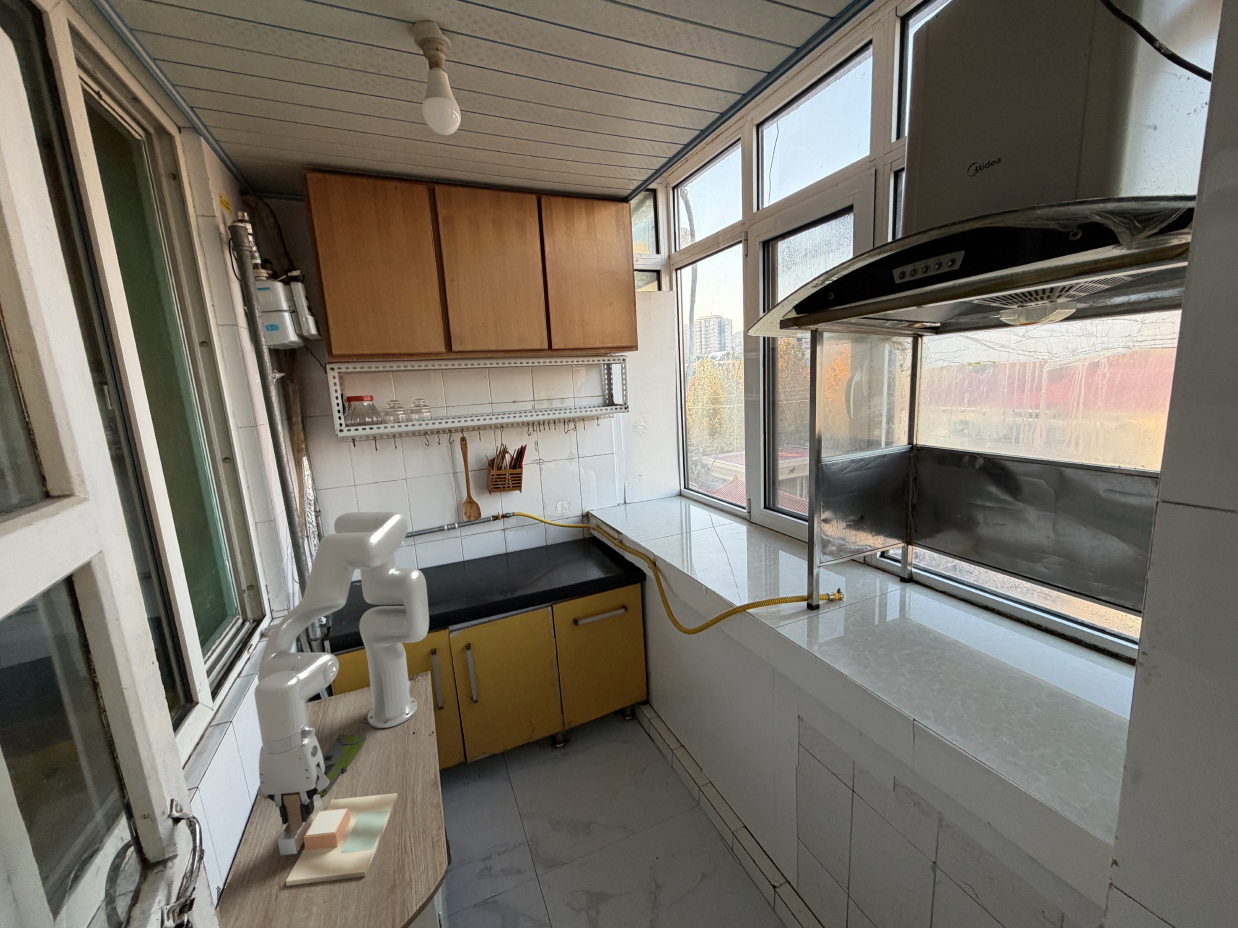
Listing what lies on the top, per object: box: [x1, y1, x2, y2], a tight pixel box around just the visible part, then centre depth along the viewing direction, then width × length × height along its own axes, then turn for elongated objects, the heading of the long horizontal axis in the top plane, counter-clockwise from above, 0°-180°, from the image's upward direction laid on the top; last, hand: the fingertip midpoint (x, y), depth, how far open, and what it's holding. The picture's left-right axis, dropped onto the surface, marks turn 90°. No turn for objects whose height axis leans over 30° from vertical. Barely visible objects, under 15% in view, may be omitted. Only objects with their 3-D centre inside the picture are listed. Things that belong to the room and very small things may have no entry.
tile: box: [303, 808, 351, 850], centre depth 99 cm, size 6×6×3 cm
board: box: [285, 792, 399, 887], centre depth 100 cm, size 18×14×1 cm
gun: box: [315, 733, 367, 798], centre depth 119 cm, size 2×19×15 cm
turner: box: [277, 792, 323, 856], centre depth 99 cm, size 10×3×10 cm, turn 6°
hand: (298, 816), depth 98 cm, fingers closed on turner, 3 cm apart
